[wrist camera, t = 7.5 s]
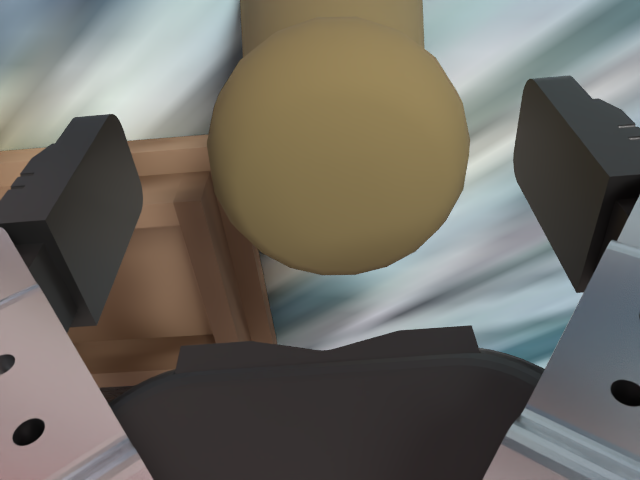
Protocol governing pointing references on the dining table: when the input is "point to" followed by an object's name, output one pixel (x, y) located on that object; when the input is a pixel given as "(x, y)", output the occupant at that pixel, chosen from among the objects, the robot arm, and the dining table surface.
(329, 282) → the dining table surface
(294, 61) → the khaki rounded elongated piece
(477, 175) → the dining table surface
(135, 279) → the crate
